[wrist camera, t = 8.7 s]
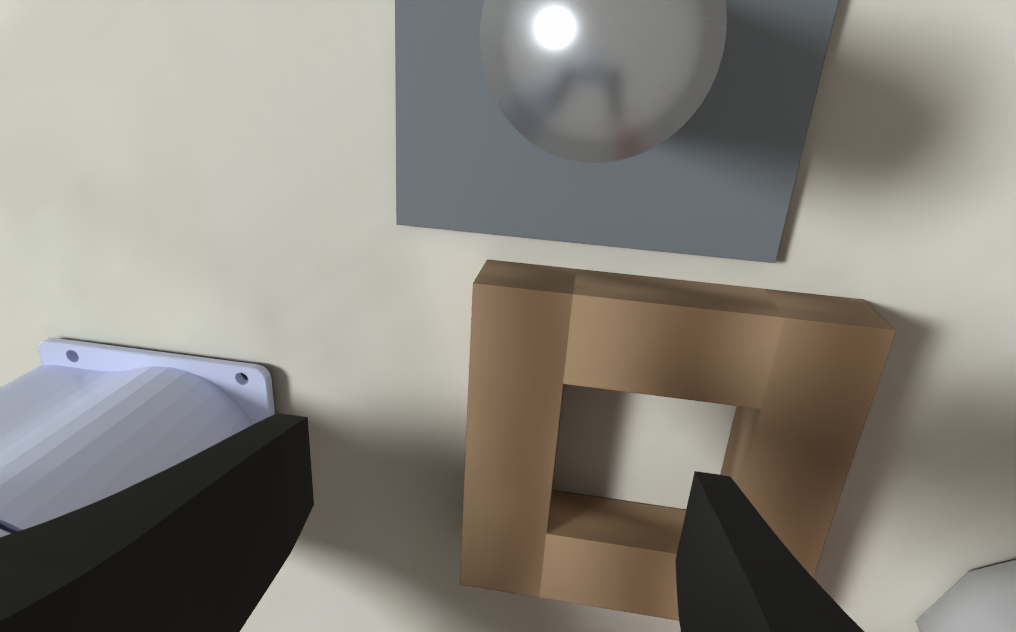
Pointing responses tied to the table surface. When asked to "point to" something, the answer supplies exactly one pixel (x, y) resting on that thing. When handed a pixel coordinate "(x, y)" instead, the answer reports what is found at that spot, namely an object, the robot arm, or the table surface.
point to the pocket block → (662, 372)
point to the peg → (600, 70)
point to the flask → (976, 603)
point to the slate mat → (619, 184)
